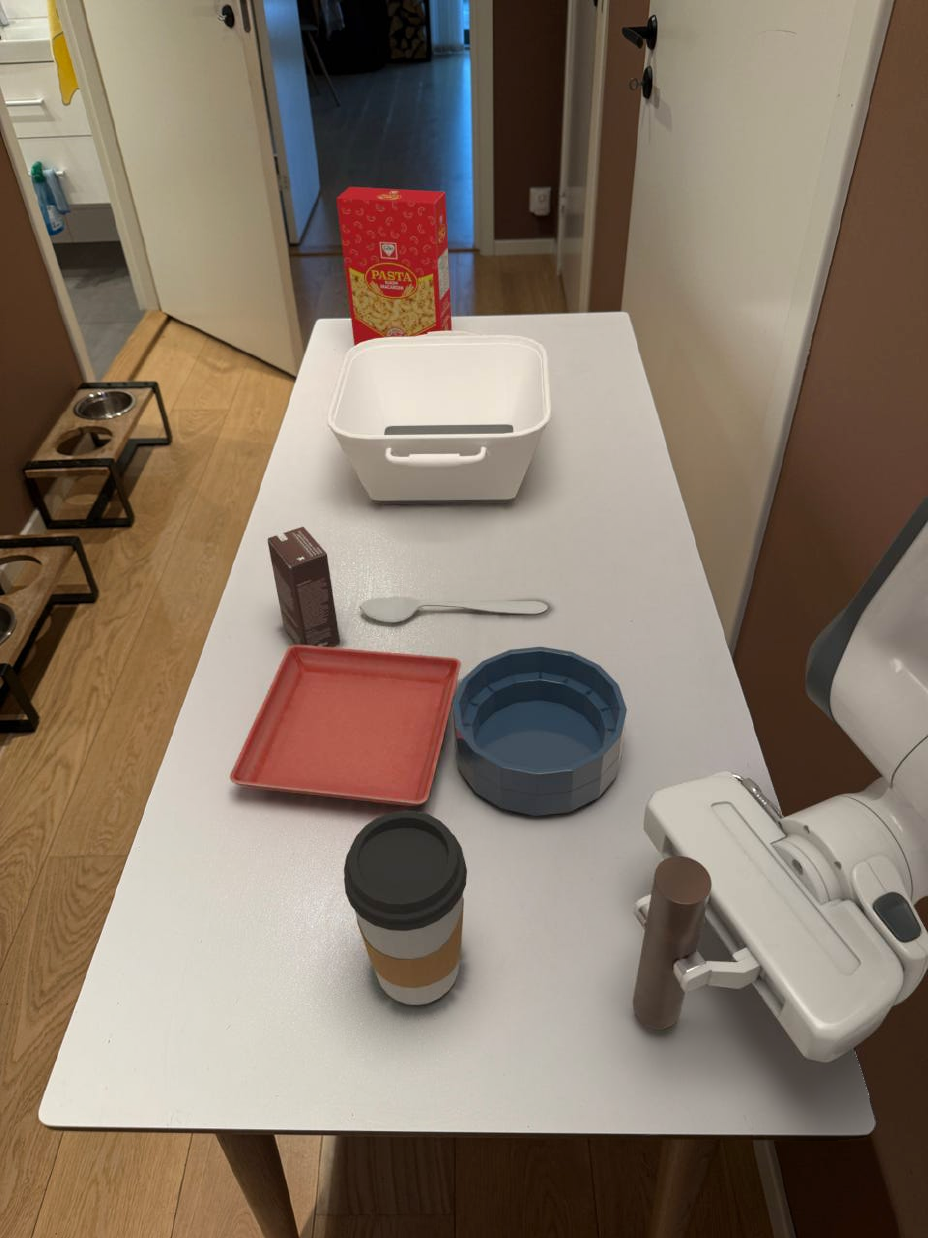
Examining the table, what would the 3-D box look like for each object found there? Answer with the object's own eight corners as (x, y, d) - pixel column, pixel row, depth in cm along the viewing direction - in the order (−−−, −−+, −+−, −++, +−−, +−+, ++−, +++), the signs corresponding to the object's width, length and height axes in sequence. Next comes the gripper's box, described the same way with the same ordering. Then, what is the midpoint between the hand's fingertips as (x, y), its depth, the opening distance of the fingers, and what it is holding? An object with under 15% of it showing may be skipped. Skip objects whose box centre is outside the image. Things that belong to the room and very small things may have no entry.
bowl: (650, 740, 87) (657, 693, 83) (559, 850, 78) (562, 802, 74) (519, 673, 94) (520, 625, 90) (423, 766, 86) (418, 718, 82)
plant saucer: (233, 803, 83) (225, 780, 81) (293, 664, 97) (288, 641, 94) (429, 827, 81) (426, 804, 78) (464, 681, 94) (462, 657, 92)
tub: (551, 544, 110) (554, 451, 102) (329, 546, 112) (314, 454, 103) (543, 406, 136) (545, 322, 127) (362, 408, 137) (352, 326, 129)
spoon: (362, 603, 104) (360, 592, 102) (545, 596, 103) (546, 584, 102) (359, 628, 100) (358, 617, 99) (549, 620, 100) (549, 609, 99)
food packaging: (356, 360, 149) (336, 198, 133) (367, 346, 153) (349, 186, 136) (443, 369, 146) (434, 203, 129) (452, 354, 150) (445, 191, 133)
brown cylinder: (689, 1001, 67) (721, 874, 56) (665, 1038, 65) (694, 914, 54) (647, 974, 68) (671, 846, 58) (623, 1009, 66) (644, 884, 56)
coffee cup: (380, 911, 75) (360, 796, 65) (481, 928, 73) (477, 813, 63) (350, 1010, 69) (323, 900, 59) (460, 1032, 67) (451, 922, 57)
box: (343, 642, 99) (328, 553, 91) (305, 658, 97) (286, 569, 89) (319, 612, 103) (303, 523, 95) (282, 627, 101) (262, 538, 93)
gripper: (745, 738, 70) (583, 801, 66) (954, 972, 55) (763, 1070, 51) (732, 791, 74) (579, 853, 70) (924, 1021, 59) (744, 1115, 55)
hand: (658, 947), depth 60 cm, fingers closed on brown cylinder, 3 cm apart
